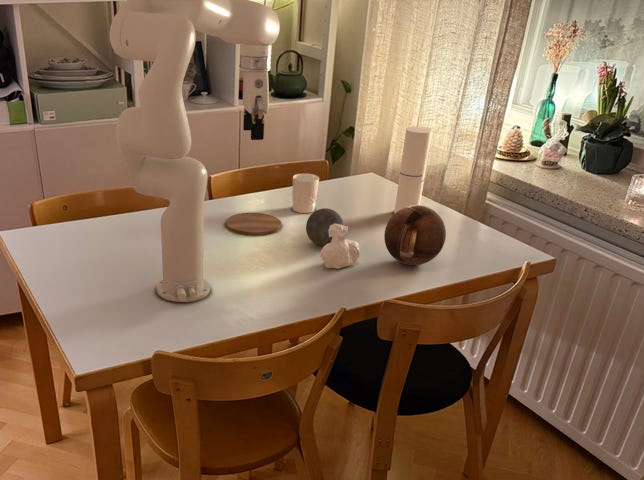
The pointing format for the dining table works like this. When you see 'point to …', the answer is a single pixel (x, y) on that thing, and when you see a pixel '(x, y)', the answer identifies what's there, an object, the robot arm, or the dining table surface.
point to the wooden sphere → (415, 235)
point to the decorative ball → (322, 225)
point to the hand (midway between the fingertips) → (253, 134)
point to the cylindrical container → (413, 167)
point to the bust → (339, 248)
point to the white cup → (304, 192)
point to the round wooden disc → (253, 224)
